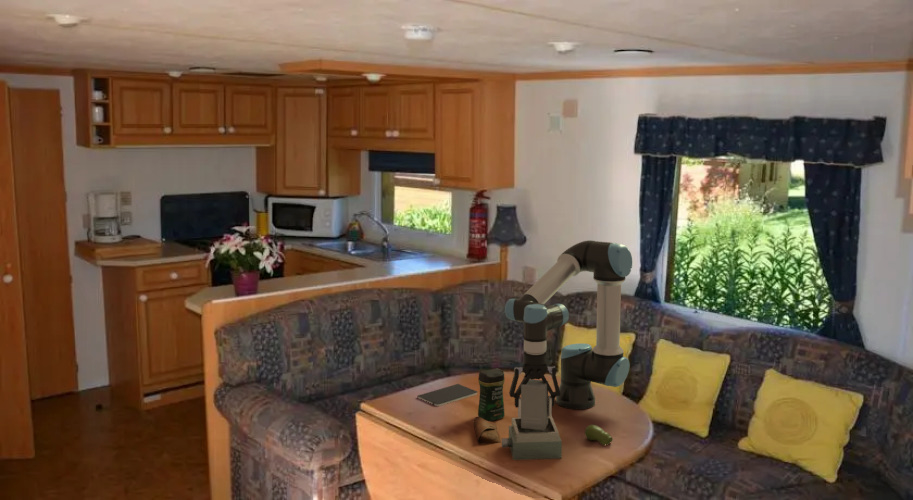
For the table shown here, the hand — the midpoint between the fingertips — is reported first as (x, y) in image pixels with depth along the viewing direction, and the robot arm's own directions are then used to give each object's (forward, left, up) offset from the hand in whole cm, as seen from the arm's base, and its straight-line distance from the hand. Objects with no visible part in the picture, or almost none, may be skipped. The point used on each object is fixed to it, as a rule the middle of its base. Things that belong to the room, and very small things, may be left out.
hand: (534, 415), depth 271 cm
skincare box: (0, 0, -4) cm, 4 cm away
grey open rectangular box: (+1, 0, -12) cm, 12 cm away
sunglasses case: (+15, -15, -13) cm, 25 cm away
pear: (-23, -6, -13) cm, 27 cm away
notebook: (+28, -54, -13) cm, 62 cm away
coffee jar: (+12, -30, -12) cm, 35 cm away
